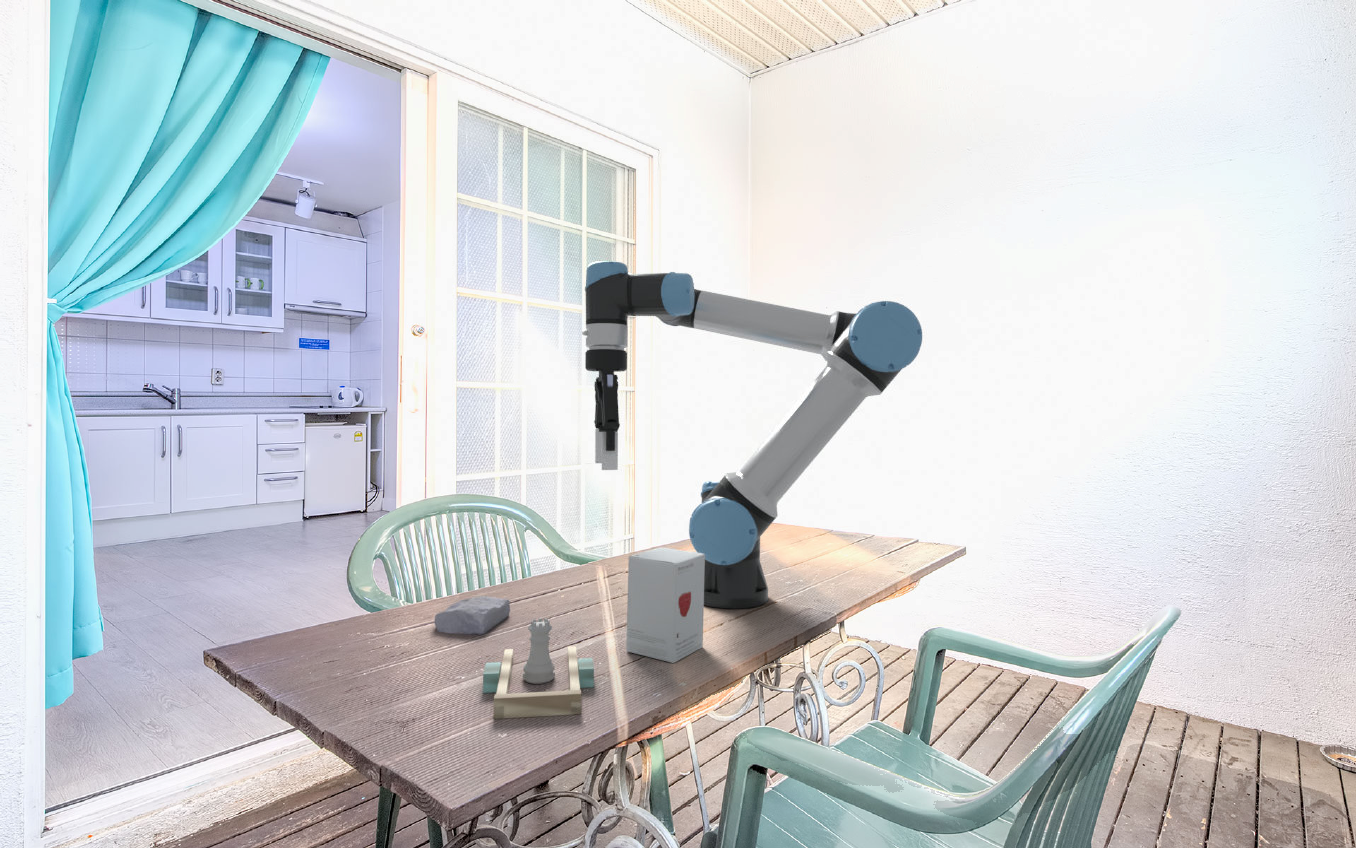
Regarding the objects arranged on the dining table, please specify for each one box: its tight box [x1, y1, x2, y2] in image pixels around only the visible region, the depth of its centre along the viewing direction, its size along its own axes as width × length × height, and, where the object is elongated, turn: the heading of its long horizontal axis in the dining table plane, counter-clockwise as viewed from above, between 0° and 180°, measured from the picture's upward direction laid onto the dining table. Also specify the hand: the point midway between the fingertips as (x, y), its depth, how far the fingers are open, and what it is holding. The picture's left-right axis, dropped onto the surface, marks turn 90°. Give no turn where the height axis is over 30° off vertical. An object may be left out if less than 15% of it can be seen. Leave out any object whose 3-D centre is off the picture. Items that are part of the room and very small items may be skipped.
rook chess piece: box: [522, 617, 556, 685], centre depth 98 cm, size 4×4×8 cm
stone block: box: [434, 595, 511, 636], centre depth 122 cm, size 12×5×10 cm
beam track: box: [482, 645, 595, 720], centre depth 96 cm, size 20×14×2 cm
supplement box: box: [625, 546, 705, 664], centre depth 110 cm, size 9×9×15 cm
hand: (605, 466), depth 129 cm, fingers open, 13 cm apart
